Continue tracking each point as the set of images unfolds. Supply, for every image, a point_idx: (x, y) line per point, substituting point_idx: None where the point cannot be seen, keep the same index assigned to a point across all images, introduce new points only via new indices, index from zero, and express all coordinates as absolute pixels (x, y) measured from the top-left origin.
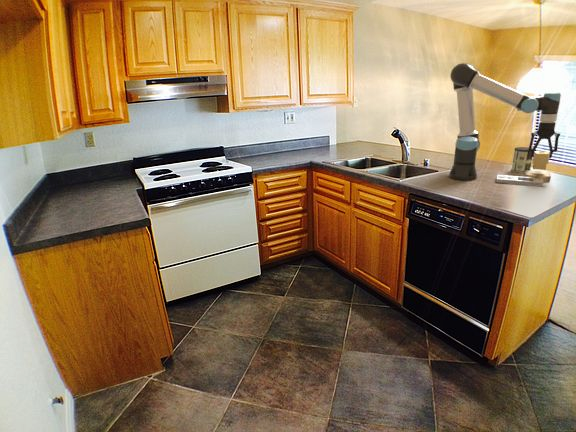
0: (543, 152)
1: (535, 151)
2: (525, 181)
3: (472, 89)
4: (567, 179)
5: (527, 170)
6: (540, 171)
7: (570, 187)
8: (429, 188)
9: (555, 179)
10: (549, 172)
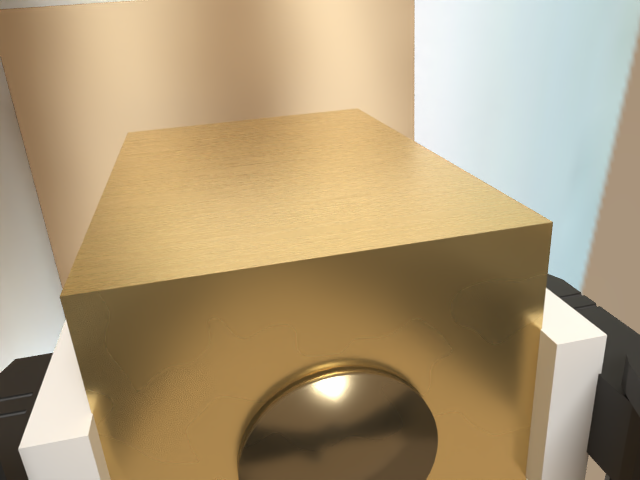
0: (390, 462)
1: (87, 475)
2: None
3: None
4: (595, 48)
5: (37, 26)
6: (274, 18)
7: None
8: None
9: (458, 122)
10: (412, 43)
